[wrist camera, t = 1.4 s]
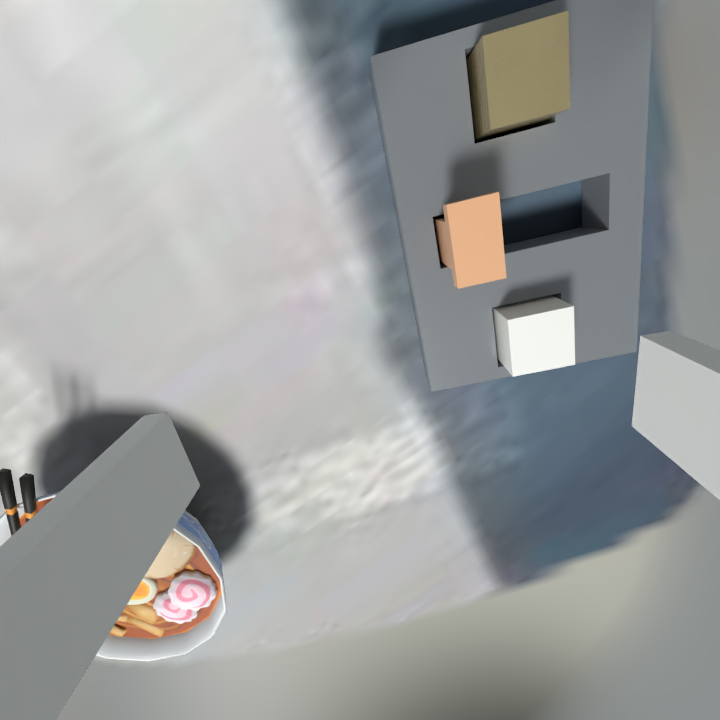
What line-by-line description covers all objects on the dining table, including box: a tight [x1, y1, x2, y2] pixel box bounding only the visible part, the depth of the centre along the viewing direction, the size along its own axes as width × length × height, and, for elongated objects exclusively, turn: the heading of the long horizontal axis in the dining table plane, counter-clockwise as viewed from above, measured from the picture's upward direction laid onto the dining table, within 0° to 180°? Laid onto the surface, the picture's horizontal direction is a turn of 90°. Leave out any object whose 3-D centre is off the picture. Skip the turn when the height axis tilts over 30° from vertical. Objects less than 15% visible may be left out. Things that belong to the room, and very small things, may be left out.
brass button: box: [466, 11, 570, 141], centre depth 22 cm, size 4×4×4 cm
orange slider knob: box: [433, 192, 507, 289], centre depth 25 cm, size 5×3×6 cm, turn 13°
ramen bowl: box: [0, 469, 227, 661], centre depth 38 cm, size 25×23×8 cm
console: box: [370, 0, 654, 391], centre depth 27 cm, size 23×16×4 cm
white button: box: [492, 295, 575, 377], centre depth 28 cm, size 4×4×4 cm
